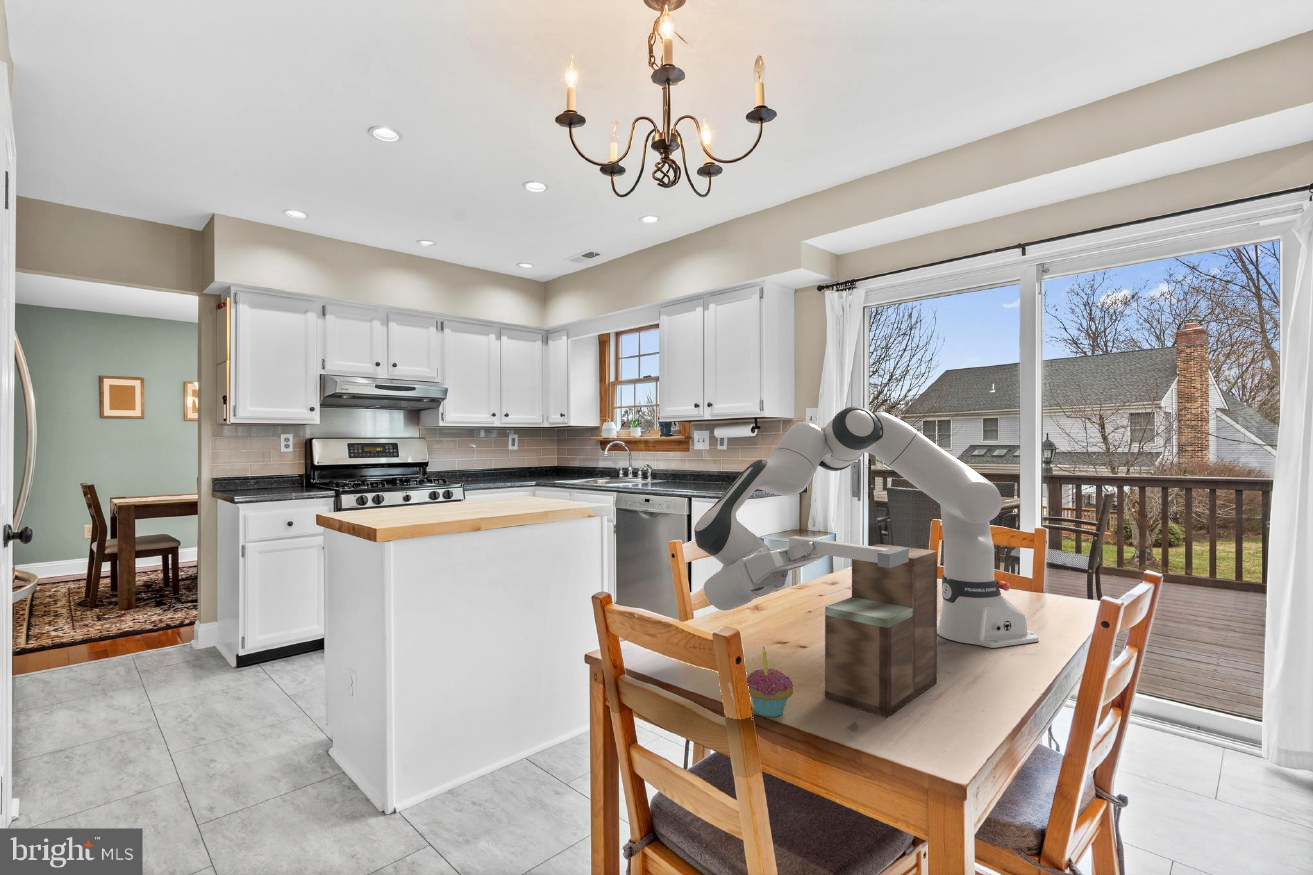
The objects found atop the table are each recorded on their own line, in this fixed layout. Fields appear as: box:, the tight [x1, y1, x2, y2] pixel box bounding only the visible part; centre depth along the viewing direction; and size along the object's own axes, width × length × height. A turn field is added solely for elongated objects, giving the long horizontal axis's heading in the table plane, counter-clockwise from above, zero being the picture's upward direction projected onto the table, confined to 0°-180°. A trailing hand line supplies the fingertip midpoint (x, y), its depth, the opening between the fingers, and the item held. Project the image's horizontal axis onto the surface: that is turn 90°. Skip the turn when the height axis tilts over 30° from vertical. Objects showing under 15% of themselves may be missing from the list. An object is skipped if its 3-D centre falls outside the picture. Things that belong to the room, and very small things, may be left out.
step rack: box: [824, 543, 938, 719], centre depth 126 cm, size 12×22×26 cm, turn 136°
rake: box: [788, 535, 910, 568], centre depth 125 cm, size 22×8×2 cm, turn 47°
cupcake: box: [746, 646, 794, 718], centre depth 117 cm, size 9×8×12 cm
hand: (817, 544), depth 129 cm, fingers closed on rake, 2 cm apart
